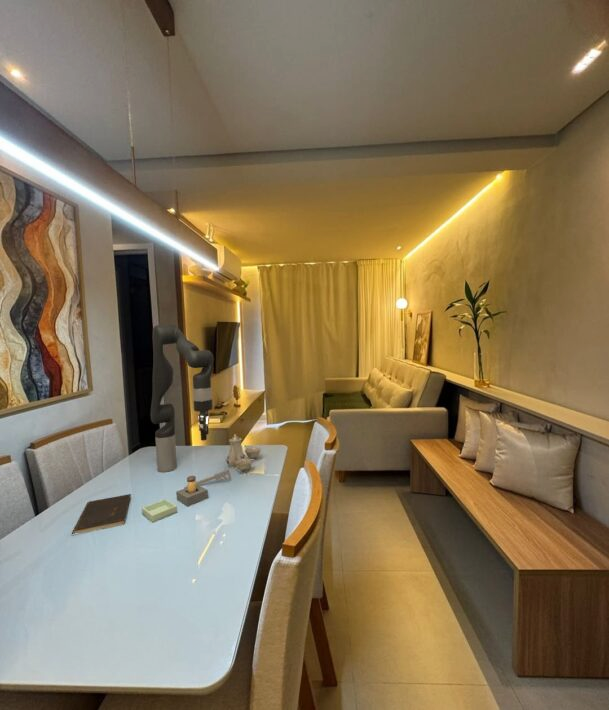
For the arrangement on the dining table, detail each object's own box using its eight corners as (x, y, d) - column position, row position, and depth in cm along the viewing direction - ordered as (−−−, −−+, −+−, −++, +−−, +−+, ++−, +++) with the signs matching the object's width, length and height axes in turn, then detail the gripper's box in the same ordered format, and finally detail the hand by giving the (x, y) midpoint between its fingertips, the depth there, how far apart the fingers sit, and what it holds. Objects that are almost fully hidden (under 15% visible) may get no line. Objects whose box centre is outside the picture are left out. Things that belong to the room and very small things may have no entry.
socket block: (176, 499, 140) (176, 491, 140) (196, 492, 147) (196, 484, 147) (187, 506, 134) (187, 497, 134) (208, 498, 141) (207, 489, 141)
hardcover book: (131, 499, 144) (130, 493, 144) (124, 526, 123) (124, 519, 123) (87, 507, 138) (86, 501, 138) (72, 537, 117) (71, 530, 117)
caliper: (230, 480, 159) (230, 467, 159) (231, 481, 158) (230, 467, 158) (184, 488, 152) (183, 474, 152) (184, 489, 151) (183, 475, 151)
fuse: (186, 499, 141) (185, 477, 140) (194, 496, 143) (192, 475, 143) (190, 501, 138) (189, 479, 138) (198, 498, 141) (197, 477, 140)
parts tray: (142, 514, 130) (141, 507, 129) (166, 505, 136) (165, 499, 136) (152, 522, 123) (152, 515, 123) (177, 512, 130) (176, 506, 130)
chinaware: (253, 478, 163) (254, 444, 162) (218, 476, 163) (219, 442, 162) (261, 458, 191) (263, 428, 190) (231, 456, 191) (233, 426, 190)
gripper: (195, 396, 149) (197, 433, 149) (191, 402, 135) (193, 443, 135) (213, 395, 150) (215, 432, 151) (210, 400, 136) (213, 441, 137)
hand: (205, 437), depth 143 cm, fingers open, 8 cm apart
